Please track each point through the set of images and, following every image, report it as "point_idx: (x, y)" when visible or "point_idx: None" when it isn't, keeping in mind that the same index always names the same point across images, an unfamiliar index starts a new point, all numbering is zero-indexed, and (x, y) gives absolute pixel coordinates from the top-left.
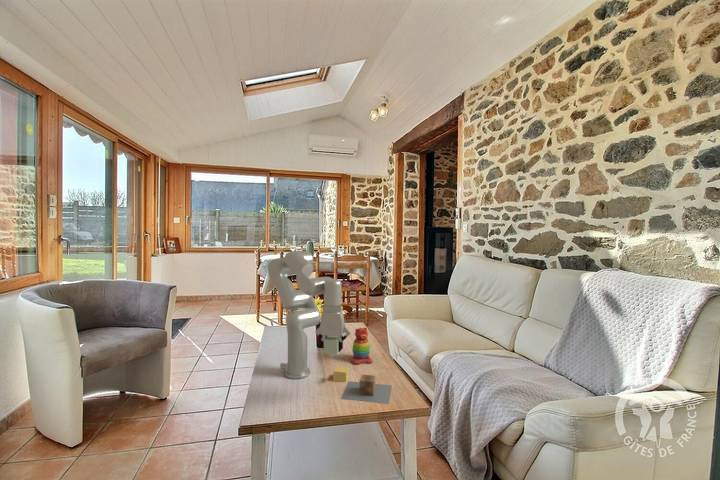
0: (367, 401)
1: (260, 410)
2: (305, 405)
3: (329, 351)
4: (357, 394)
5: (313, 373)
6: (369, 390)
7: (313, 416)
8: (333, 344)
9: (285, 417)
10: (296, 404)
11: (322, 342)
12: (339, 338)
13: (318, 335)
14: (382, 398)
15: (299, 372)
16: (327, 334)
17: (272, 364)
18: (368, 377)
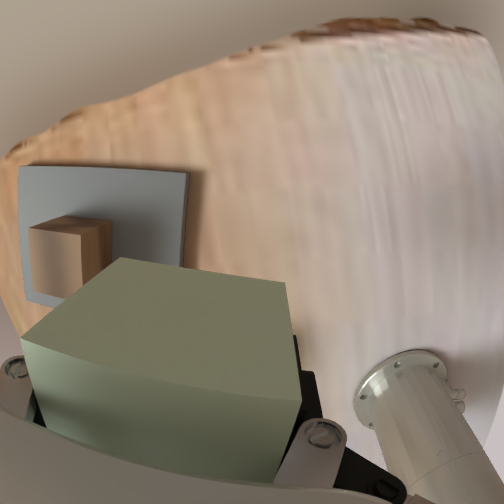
0: (78, 168)
1: (485, 110)
2: (342, 136)
3: (207, 285)
4: (119, 219)
5: (340, 400)
6: (64, 221)
7: (290, 57)
8: (115, 319)
9: (396, 54)
10: (381, 144)
11: (321, 412)
12: (15, 398)
13: (406, 490)
14: (35, 200)
15: (400, 377)
16: (198, 498)
17: (469, 421)
18: (52, 273)
